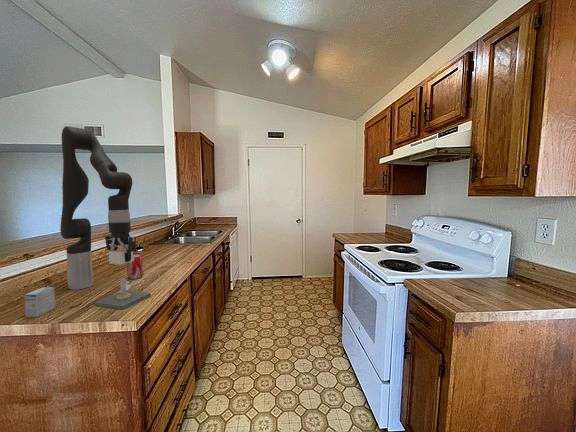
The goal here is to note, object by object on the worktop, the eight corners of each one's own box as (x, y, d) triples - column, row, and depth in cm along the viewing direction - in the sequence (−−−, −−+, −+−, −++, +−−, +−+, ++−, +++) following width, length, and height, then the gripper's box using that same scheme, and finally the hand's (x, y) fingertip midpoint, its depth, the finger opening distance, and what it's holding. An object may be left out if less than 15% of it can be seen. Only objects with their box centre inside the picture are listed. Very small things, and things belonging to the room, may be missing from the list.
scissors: (145, 278, 137) (133, 292, 118) (145, 280, 137) (133, 293, 118) (123, 280, 134) (106, 294, 115) (123, 282, 134) (106, 296, 115)
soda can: (124, 279, 137) (123, 257, 136) (135, 275, 144) (134, 254, 143) (135, 280, 136) (134, 257, 134) (145, 276, 142) (144, 254, 141)
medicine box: (44, 308, 102) (42, 287, 101) (56, 307, 103) (54, 286, 102) (25, 317, 94) (23, 294, 94) (38, 317, 95) (36, 294, 94)
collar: (109, 263, 106) (108, 251, 105) (122, 260, 111) (121, 248, 111) (120, 264, 104) (120, 252, 104) (133, 260, 110) (132, 249, 109)
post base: (95, 305, 104) (93, 281, 104) (125, 293, 118) (124, 271, 117) (122, 309, 101) (121, 285, 100) (150, 296, 114) (149, 274, 113)
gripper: (97, 221, 105) (99, 262, 106) (125, 222, 101) (127, 264, 102) (114, 219, 112) (116, 257, 113) (141, 220, 108) (142, 259, 109)
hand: (121, 260), depth 108 cm, fingers closed on collar, 6 cm apart
